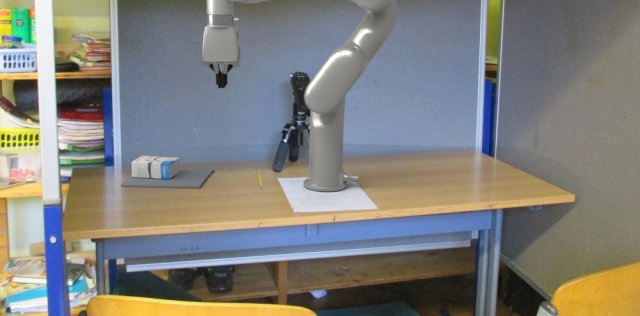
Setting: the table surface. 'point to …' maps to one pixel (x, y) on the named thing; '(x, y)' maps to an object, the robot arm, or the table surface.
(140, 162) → the ink box
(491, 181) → the table surface
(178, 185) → the slate mat
